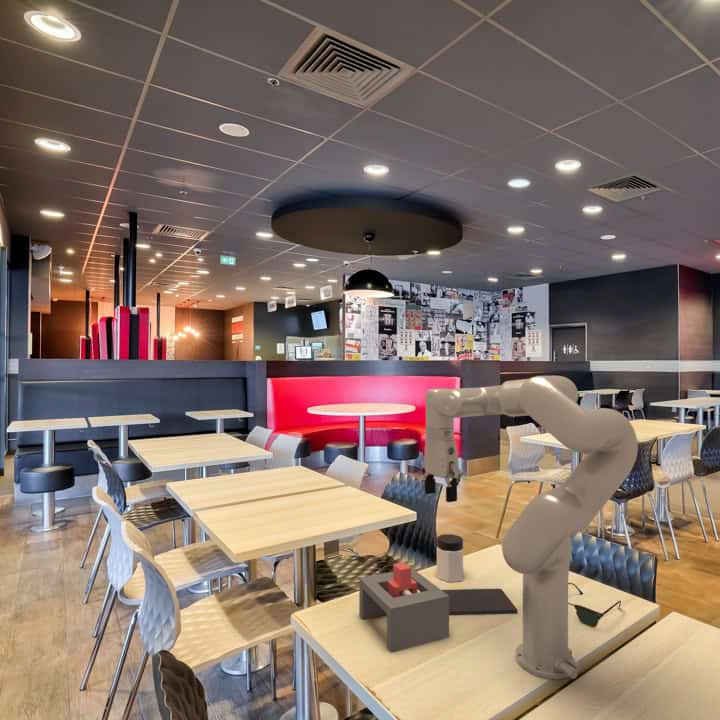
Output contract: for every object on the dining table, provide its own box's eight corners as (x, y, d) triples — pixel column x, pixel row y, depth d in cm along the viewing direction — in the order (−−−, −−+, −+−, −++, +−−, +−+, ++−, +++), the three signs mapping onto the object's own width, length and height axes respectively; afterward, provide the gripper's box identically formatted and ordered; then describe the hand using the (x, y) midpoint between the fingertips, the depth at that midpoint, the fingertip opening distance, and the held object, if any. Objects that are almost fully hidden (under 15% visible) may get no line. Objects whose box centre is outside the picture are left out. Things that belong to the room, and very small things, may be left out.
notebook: (439, 617, 129) (517, 615, 131) (439, 611, 129) (517, 609, 131) (429, 595, 142) (501, 593, 143) (429, 590, 142) (501, 588, 143)
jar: (457, 570, 159) (457, 532, 159) (468, 580, 151) (468, 541, 151) (431, 572, 156) (431, 535, 157) (442, 583, 149) (442, 544, 149)
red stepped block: (417, 619, 124) (416, 566, 124) (395, 624, 121) (394, 571, 121) (409, 611, 127) (409, 561, 127) (387, 617, 125) (387, 565, 125)
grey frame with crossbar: (449, 637, 119) (449, 595, 119) (390, 652, 113) (390, 608, 113) (412, 604, 135) (412, 568, 136) (359, 616, 129) (359, 577, 129)
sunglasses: (631, 613, 132) (631, 594, 132) (601, 634, 121) (601, 614, 121) (573, 591, 145) (572, 574, 145) (540, 608, 134) (540, 590, 134)
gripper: (471, 436, 127) (472, 503, 126) (432, 429, 142) (433, 489, 142) (448, 438, 123) (448, 506, 123) (411, 431, 139) (411, 492, 138)
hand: (440, 497), depth 132 cm, fingers open, 9 cm apart
